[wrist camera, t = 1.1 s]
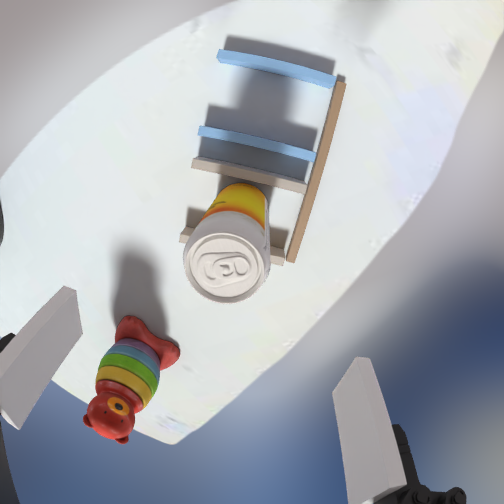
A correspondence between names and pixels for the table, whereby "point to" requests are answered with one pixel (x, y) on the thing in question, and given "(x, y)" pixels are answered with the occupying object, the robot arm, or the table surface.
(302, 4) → the table surface
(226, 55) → the rack
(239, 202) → the beer can
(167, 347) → the stacking bear
